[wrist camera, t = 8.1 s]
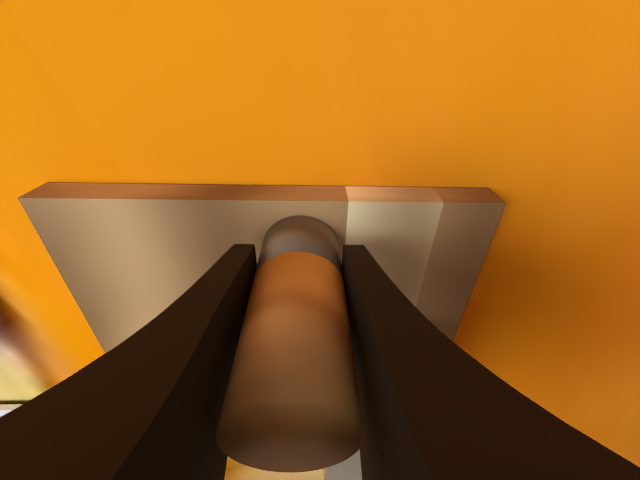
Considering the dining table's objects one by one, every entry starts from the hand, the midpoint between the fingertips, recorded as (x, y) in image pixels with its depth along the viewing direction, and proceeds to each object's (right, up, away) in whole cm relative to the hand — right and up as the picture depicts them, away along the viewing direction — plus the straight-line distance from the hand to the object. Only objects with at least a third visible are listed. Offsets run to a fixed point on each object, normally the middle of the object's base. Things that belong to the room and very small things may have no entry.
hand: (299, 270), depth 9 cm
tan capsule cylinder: (0, +1, +1) cm, 1 cm away
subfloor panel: (-1, -2, +4) cm, 5 cm away
